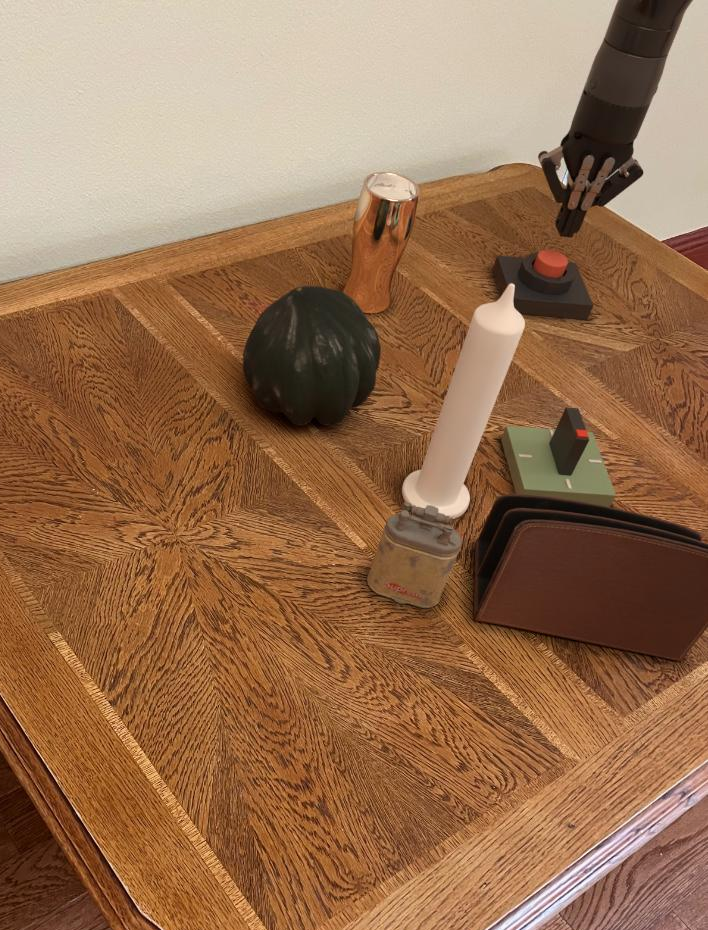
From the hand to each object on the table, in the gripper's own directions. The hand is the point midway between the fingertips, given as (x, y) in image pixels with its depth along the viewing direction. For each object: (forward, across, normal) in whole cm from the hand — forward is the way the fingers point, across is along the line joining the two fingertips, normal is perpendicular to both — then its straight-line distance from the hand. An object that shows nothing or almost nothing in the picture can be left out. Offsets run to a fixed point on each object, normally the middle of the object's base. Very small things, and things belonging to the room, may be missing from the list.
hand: (564, 233), depth 118 cm
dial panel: (+9, +6, +34) cm, 36 cm away
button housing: (+9, 0, 0) cm, 9 cm away
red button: (+5, 0, 0) cm, 5 cm away
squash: (+9, +33, +25) cm, 43 cm away
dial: (+7, +6, +34) cm, 36 cm away
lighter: (+9, +26, +52) cm, 59 cm away
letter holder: (+10, +9, +53) cm, 54 cm away
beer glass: (+9, +24, +4) cm, 26 cm away
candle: (+9, +20, +39) cm, 45 cm away
